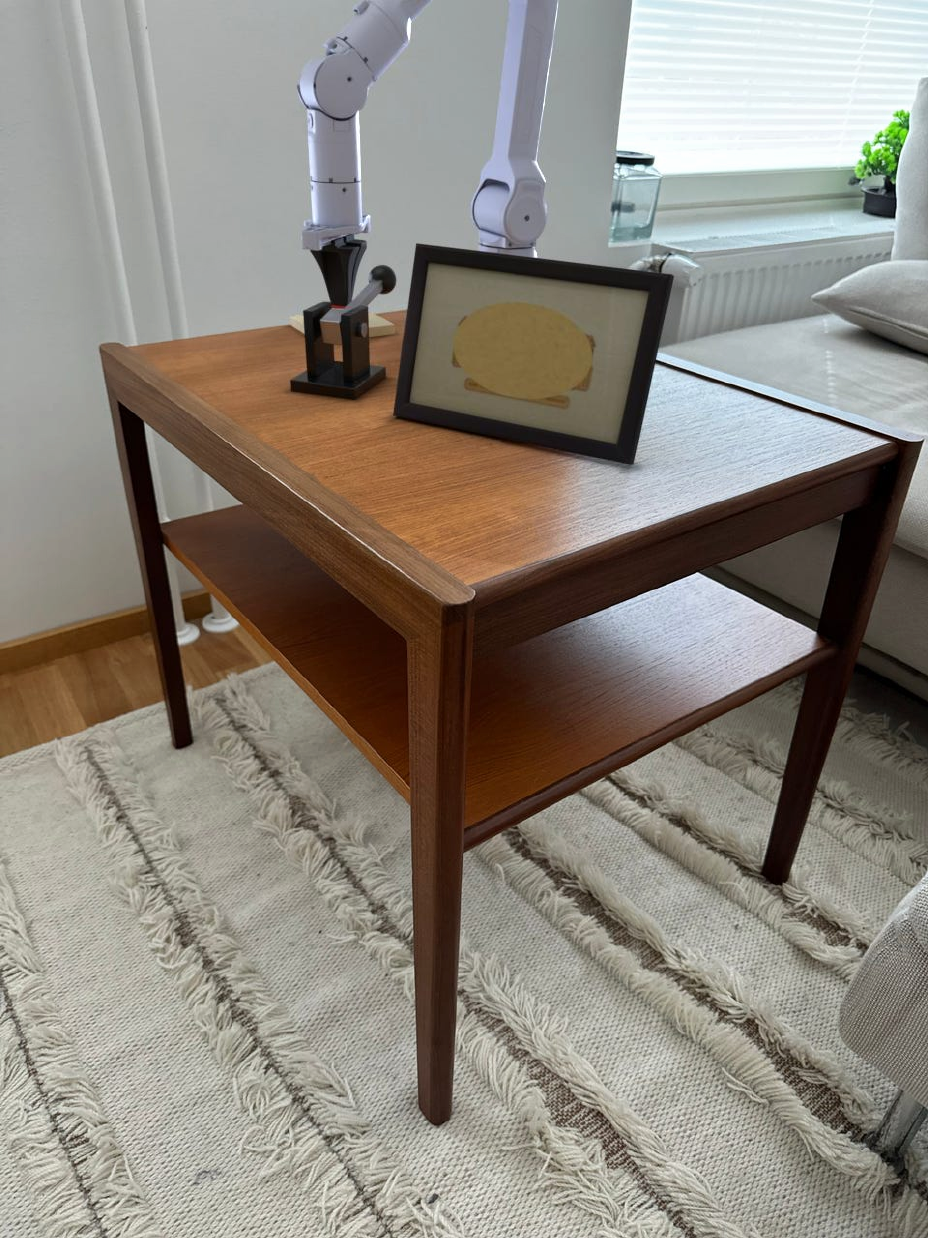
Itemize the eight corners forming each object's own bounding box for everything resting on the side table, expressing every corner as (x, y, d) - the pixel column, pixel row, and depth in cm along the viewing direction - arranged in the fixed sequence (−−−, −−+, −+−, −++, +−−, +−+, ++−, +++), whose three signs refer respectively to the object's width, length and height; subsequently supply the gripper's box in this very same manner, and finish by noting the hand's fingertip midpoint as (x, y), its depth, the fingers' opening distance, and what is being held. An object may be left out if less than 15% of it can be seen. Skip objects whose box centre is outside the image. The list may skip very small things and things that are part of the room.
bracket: (325, 370, 96) (321, 296, 92) (386, 378, 94) (384, 303, 90) (290, 391, 89) (284, 313, 85) (354, 400, 87) (351, 320, 83)
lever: (376, 286, 99) (373, 259, 97) (401, 289, 98) (399, 261, 96) (319, 345, 89) (314, 316, 87) (346, 348, 88) (343, 319, 86)
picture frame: (391, 417, 83) (399, 243, 76) (438, 402, 90) (449, 242, 84) (628, 467, 74) (660, 275, 68) (659, 446, 81) (690, 271, 75)
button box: (364, 317, 115) (363, 293, 114) (395, 334, 109) (394, 308, 107) (290, 325, 111) (288, 300, 109) (318, 343, 104) (316, 317, 103)
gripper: (331, 172, 108) (336, 289, 115) (272, 184, 96) (282, 313, 103) (385, 176, 106) (387, 294, 113) (332, 188, 94) (338, 320, 102)
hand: (341, 304), depth 108 cm, fingers closed, pressing on button
